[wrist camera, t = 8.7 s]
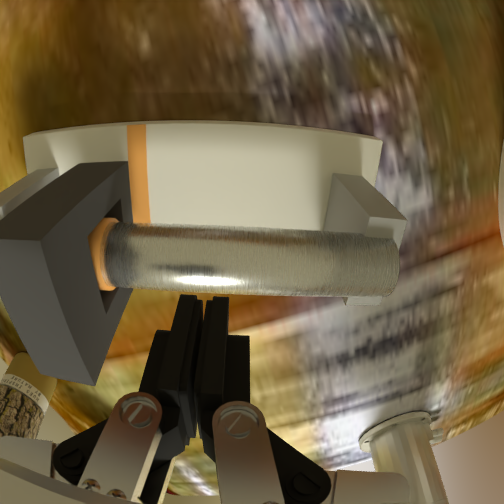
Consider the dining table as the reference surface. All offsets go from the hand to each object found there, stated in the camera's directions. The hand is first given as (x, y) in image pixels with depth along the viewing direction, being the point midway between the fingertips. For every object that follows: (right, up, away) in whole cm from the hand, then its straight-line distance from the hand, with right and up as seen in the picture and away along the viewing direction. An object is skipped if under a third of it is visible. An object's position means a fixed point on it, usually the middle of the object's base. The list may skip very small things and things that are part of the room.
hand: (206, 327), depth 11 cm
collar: (-6, +4, +6) cm, 10 cm away
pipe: (-2, +3, +4) cm, 6 cm away
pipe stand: (-3, +7, +10) cm, 12 cm away
